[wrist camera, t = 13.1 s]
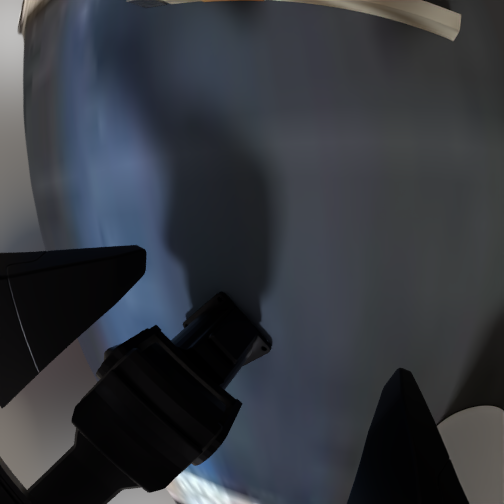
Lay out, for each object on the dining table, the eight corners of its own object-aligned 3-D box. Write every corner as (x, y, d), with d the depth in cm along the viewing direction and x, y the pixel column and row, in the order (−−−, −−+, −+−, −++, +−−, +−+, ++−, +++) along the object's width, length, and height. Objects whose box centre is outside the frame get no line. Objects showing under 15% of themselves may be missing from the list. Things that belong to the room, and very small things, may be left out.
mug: (543, 405, 15) (560, 506, 5) (502, 456, 18) (501, 545, 8) (450, 401, 19) (445, 525, 9) (416, 452, 22) (396, 553, 12)
